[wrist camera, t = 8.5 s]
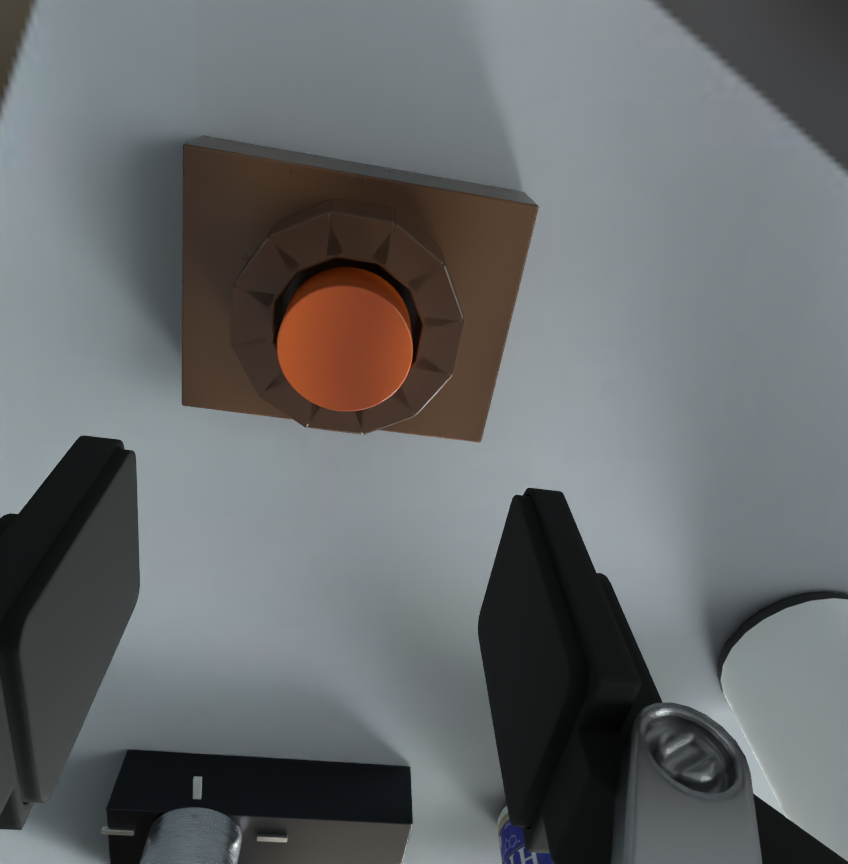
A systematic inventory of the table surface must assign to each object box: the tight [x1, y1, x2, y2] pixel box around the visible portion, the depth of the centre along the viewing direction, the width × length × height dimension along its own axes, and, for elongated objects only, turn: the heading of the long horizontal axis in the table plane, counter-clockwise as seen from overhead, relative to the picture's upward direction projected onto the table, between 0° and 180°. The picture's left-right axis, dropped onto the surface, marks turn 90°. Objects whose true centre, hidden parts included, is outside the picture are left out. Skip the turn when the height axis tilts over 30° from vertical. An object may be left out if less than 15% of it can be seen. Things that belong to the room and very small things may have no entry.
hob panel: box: [101, 750, 413, 864], centre depth 35 cm, size 14×14×3 cm
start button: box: [277, 267, 413, 411], centre depth 19 cm, size 4×4×2 cm
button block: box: [182, 136, 539, 443], centre depth 21 cm, size 10×8×4 cm
